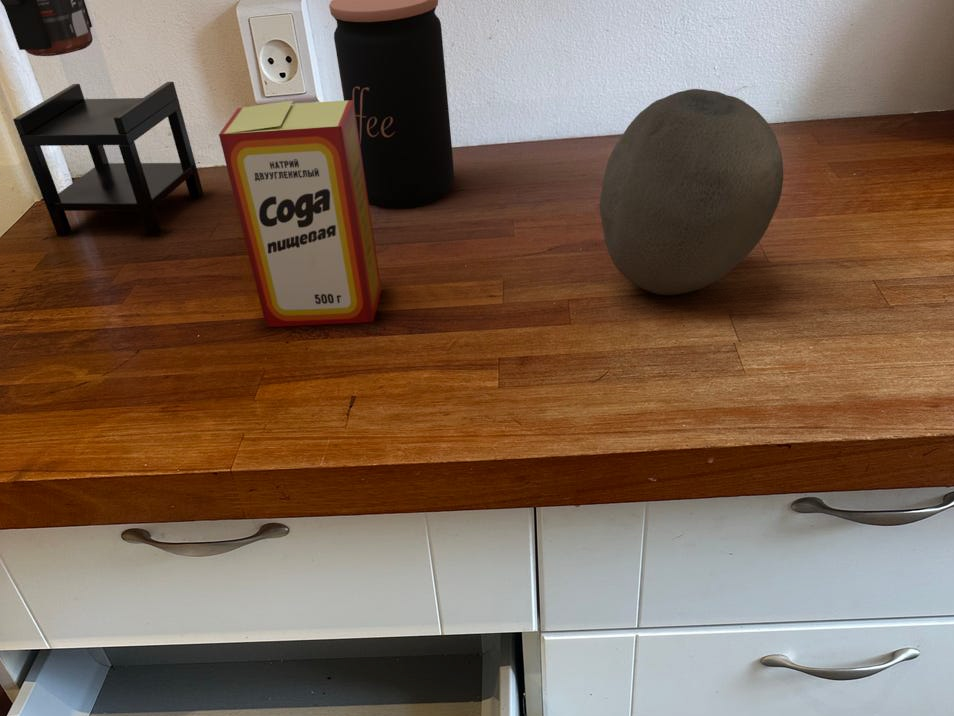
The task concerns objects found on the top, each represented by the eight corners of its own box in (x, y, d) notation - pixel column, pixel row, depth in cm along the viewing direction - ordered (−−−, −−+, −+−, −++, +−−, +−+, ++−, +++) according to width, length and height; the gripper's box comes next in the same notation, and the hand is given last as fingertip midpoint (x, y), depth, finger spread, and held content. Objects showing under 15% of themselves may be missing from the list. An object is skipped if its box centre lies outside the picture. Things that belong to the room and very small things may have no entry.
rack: (57, 235, 102) (12, 119, 94) (110, 193, 111) (73, 83, 103) (157, 236, 100) (120, 117, 92) (204, 194, 108) (173, 81, 100)
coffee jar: (344, 188, 106) (313, -2, 93) (430, 166, 109) (411, -21, 96) (381, 218, 99) (352, 17, 86) (472, 193, 102) (457, -4, 89)
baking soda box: (381, 288, 87) (352, 94, 76) (372, 321, 82) (340, 120, 71) (280, 294, 88) (236, 103, 76) (266, 327, 83) (217, 129, 72)
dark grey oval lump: (668, 340, 76) (682, 138, 66) (568, 281, 85) (566, 95, 75) (799, 290, 81) (833, 94, 70) (691, 239, 90) (706, 59, 79)
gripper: (-114, -353, 59) (34, 68, 75) (50, -349, 72) (146, 10, 88) (-213, -341, 60) (-47, 69, 77) (-35, -339, 73) (75, 12, 90)
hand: (56, 37), depth 82 cm, fingers closed on supplement bottle, 6 cm apart
